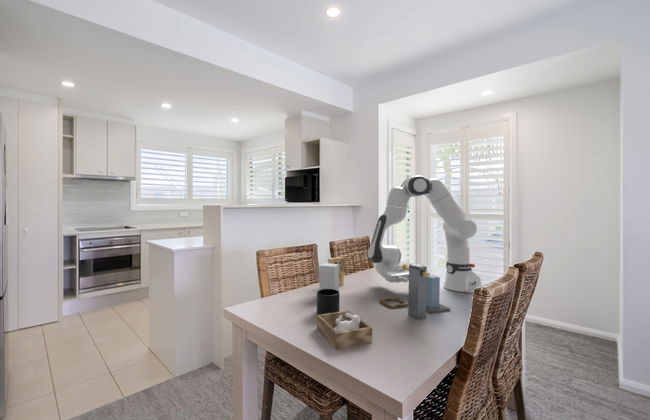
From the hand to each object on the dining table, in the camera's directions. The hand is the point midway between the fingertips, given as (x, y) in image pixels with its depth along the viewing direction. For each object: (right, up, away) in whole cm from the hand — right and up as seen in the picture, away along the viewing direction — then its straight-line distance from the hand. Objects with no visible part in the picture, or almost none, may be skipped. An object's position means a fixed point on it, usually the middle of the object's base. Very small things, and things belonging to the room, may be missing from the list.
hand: (414, 279), depth 146 cm
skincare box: (-41, -9, +5) cm, 42 cm away
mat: (+4, -10, -11) cm, 15 cm away
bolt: (-6, +7, -21) cm, 23 cm away
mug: (-41, -10, -18) cm, 46 cm away
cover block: (+5, -9, -11) cm, 15 cm away
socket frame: (-11, -10, -7) cm, 16 cm away
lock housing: (-5, -10, -21) cm, 24 cm away
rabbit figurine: (-35, -11, -42) cm, 55 cm away
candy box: (-37, -9, +24) cm, 45 cm away
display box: (-37, -10, -40) cm, 55 cm away
